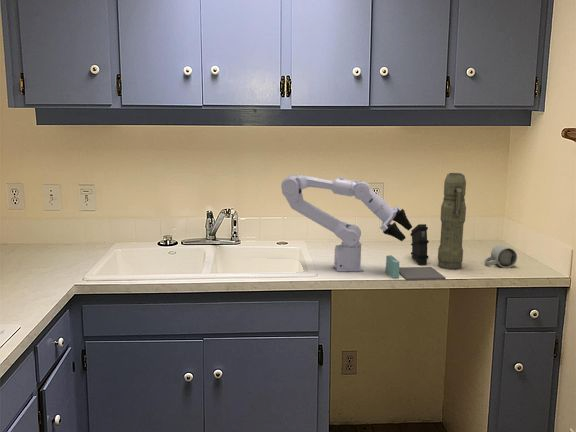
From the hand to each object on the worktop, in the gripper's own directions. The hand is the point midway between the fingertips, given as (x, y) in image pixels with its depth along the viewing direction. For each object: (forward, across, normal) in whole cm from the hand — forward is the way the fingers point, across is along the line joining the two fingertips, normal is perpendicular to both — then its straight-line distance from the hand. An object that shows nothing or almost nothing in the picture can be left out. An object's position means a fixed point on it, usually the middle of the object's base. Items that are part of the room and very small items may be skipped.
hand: (407, 234), depth 207 cm
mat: (+13, -5, +5) cm, 15 cm away
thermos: (+22, +10, +5) cm, 24 cm away
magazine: (+14, +12, +14) cm, 23 cm away
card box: (+6, -11, +10) cm, 16 cm away
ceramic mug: (+36, +21, -4) cm, 42 cm away
